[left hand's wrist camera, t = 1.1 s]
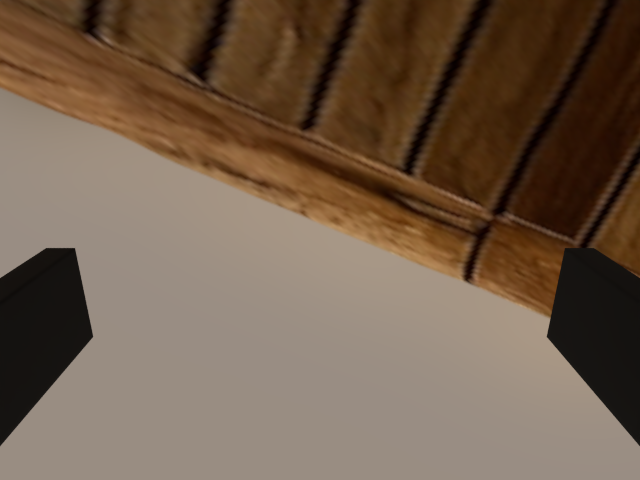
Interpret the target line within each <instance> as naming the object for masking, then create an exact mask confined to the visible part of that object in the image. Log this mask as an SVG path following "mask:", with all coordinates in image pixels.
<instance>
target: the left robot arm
mask: <svg viewBox="0 0 640 480" xmlns="http://www.w3.org/2000/svg"><path fill="white" fill-rule="evenodd" d="M92 338H93V334H92V329H91V324H90V319H89V314H88V309H87V305H86V300H85V295H84V290H83V285H82V280H81V275H80V271H79V266H78V261H77V256H76V251H75V248H46V249H44V250H43V251H41V252H40V253H38V254H37V255H35V256H34V257H32V258H30V259H29V260H27V261H26V262H24V263H23V264H21V265H20V266H18V267H17V268H15V269H14V270H12V271H10V272H9V273H7V274H6V275H4V276H3V277H1V278H0V446H1V444H2V443H3V442H4V441H5V440H6V439H7V437H8V436H9V435H10V434H11V433H12V432H13V430H14V429H15V428H16V427H17V426H18V424H19V423H20V422H21V421H22V420H23V419H24V417H25V416H26V415H27V414H28V413H29V411H30V410H31V409H32V408H33V407H34V406H35V404H36V403H37V402H38V401H39V400H40V399H41V397H42V396H43V395H44V394H45V393H46V391H47V390H48V389H49V388H50V387H51V386H52V385H53V383H54V382H55V381H56V380H57V379H58V377H59V376H60V375H61V374H62V373H63V372H64V370H65V369H66V368H67V367H68V366H69V365H70V363H71V362H72V361H73V360H74V359H75V358H76V356H77V355H78V354H79V353H80V352H81V350H82V349H83V348H84V347H85V346H86V345H87V343H88V342H89V341H90V340H91V339H92ZM547 338H548V339H549V340H550V341H551V342H552V343H553V345H554V346H555V347H556V348H557V349H558V350H559V352H560V353H561V354H562V355H563V356H564V357H565V359H566V360H567V361H568V362H569V363H570V365H571V366H572V367H573V368H574V369H575V370H576V372H577V373H578V374H579V375H580V376H581V377H582V379H583V380H584V381H585V382H586V383H587V385H588V386H589V387H590V388H591V389H592V390H593V391H594V393H595V394H596V395H597V396H598V397H599V399H600V400H601V401H602V402H603V403H604V404H605V406H606V407H607V408H608V409H609V410H610V412H611V413H612V414H613V415H614V416H615V417H616V419H617V420H618V421H619V422H620V423H621V425H622V426H623V427H624V428H625V429H626V430H627V432H628V433H629V434H630V435H631V436H632V437H633V439H634V440H635V441H636V442H637V443H638V444H639V446H640V278H639V277H637V276H636V275H634V274H633V273H631V272H630V271H628V270H626V269H625V268H623V267H622V266H620V265H619V264H617V263H616V262H614V261H613V260H611V259H610V258H608V257H606V256H605V255H603V254H602V253H600V252H599V251H597V250H596V249H594V248H565V251H564V256H563V261H562V266H561V271H560V275H559V280H558V285H557V290H556V295H555V300H554V304H553V309H552V314H551V319H550V324H549V329H548V334H547Z"/></svg>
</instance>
